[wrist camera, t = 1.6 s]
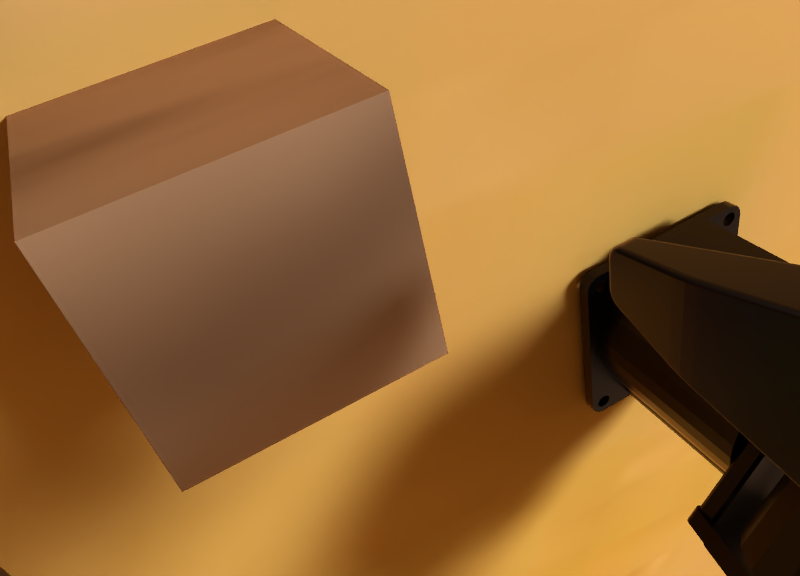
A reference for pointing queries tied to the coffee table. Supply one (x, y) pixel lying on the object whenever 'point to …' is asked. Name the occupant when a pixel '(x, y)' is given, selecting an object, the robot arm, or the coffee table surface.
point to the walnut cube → (228, 241)
